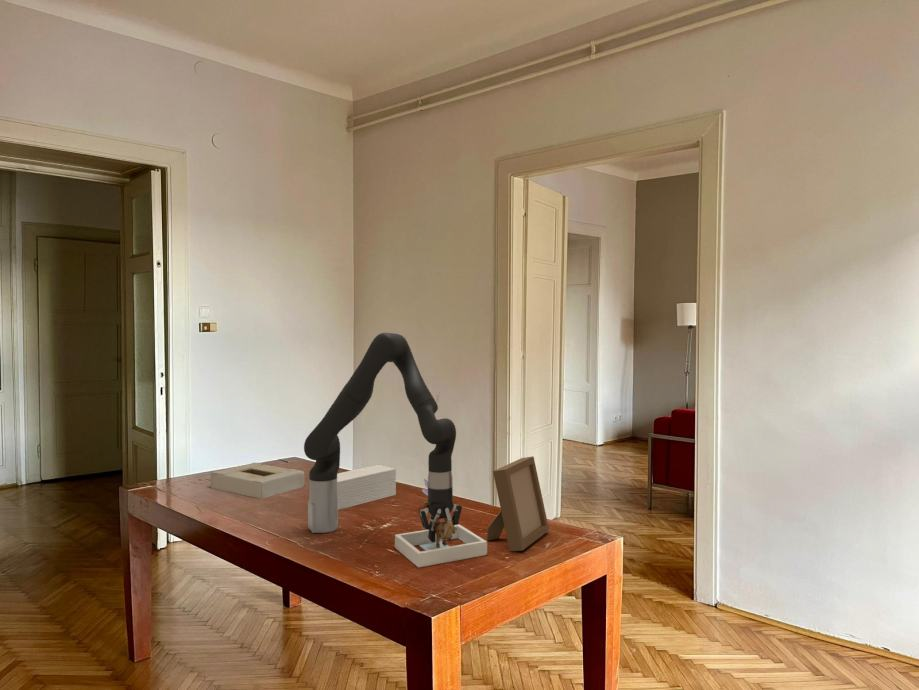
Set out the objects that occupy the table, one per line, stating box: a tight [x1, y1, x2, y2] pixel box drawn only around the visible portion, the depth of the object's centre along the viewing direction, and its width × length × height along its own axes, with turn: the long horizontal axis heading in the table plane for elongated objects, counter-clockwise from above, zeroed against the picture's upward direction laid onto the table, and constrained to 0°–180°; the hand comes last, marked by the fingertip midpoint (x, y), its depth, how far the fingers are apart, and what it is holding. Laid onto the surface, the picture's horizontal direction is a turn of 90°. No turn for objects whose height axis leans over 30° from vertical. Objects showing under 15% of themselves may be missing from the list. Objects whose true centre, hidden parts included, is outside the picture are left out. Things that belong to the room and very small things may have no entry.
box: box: [210, 462, 306, 499], centre depth 280 cm, size 23×8×32 cm
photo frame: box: [485, 456, 550, 552], centre depth 213 cm, size 15×22×25 cm
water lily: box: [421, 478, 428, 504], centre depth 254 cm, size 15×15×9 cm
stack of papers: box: [337, 464, 397, 511], centre depth 259 cm, size 32×11×11 cm, turn 137°
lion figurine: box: [428, 519, 457, 548], centre depth 204 cm, size 15×5×9 cm, turn 34°
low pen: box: [394, 524, 488, 568], centre depth 203 cm, size 22×18×4 cm
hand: (440, 540), depth 203 cm, fingers open, 4 cm apart
